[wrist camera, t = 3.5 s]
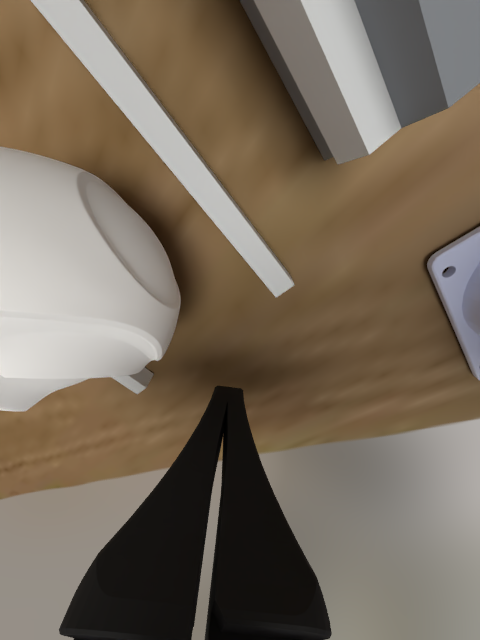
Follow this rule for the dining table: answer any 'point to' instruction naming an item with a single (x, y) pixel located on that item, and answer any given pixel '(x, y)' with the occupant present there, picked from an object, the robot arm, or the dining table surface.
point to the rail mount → (302, 89)
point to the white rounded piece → (75, 281)
